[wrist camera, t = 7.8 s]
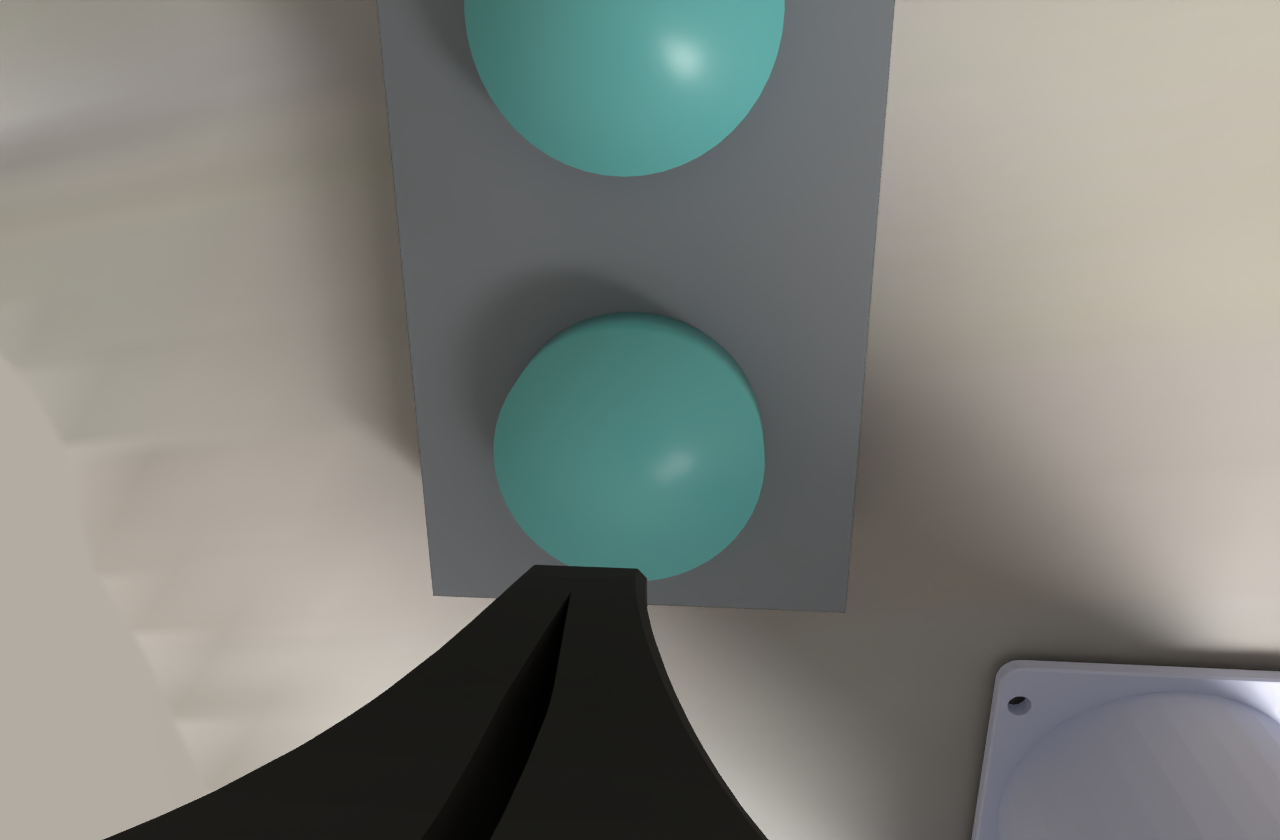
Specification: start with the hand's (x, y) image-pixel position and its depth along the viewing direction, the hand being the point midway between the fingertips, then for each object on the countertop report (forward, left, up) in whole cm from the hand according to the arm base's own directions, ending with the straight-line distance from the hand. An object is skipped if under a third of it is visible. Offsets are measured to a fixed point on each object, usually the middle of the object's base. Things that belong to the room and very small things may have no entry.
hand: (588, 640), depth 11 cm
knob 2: (0, 0, -10) cm, 10 cm away
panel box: (+4, 0, -10) cm, 11 cm away
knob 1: (+7, 0, -10) cm, 12 cm away
